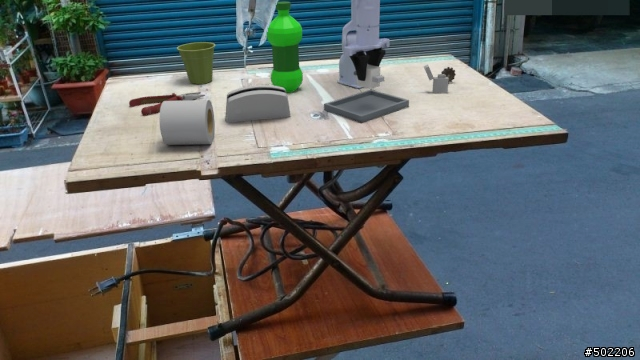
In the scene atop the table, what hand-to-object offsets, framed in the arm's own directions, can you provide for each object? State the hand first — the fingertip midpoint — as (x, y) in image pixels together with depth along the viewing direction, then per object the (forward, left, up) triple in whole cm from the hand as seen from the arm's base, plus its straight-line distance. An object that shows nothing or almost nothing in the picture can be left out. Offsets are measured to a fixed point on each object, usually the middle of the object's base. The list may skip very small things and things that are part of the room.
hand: (367, 78), depth 140 cm
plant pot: (-56, -18, -8) cm, 59 cm away
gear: (+1, +34, -8) cm, 35 cm away
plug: (0, 0, -2) cm, 2 cm away
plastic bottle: (-29, -4, -8) cm, 30 cm away
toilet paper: (-12, -46, -8) cm, 48 cm away
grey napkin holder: (-15, -25, -8) cm, 30 cm away
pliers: (-41, -37, -9) cm, 56 cm away
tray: (0, 0, -8) cm, 8 cm away
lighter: (+4, +24, -8) cm, 26 cm away
